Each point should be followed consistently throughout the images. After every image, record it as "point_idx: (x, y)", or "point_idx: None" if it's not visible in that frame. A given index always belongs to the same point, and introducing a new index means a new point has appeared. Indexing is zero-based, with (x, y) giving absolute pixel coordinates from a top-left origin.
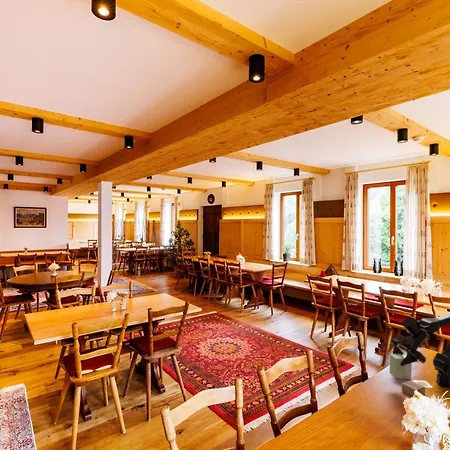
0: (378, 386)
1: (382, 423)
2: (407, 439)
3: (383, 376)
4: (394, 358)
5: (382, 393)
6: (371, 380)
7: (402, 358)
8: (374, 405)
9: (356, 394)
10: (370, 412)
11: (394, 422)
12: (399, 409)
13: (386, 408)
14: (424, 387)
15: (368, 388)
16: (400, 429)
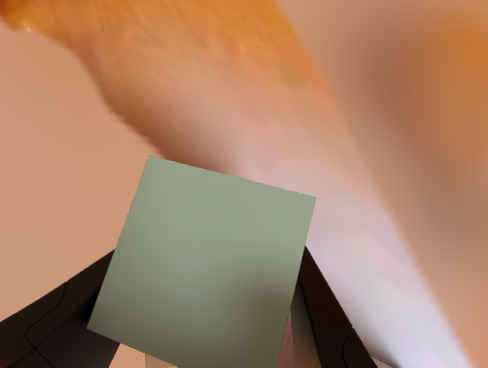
0: (297, 166)
1: (86, 2)
2: (6, 21)
3: (394, 285)
4: (189, 169)
5: (237, 137)
6: (362, 176)
7: (109, 270)
8: (174, 43)
9: (262, 24)
10: (145, 2)
11: (74, 41)
12: (120, 115)
13: (143, 72)
14: (147, 365)
15: (292, 105)
16: (43, 34)
